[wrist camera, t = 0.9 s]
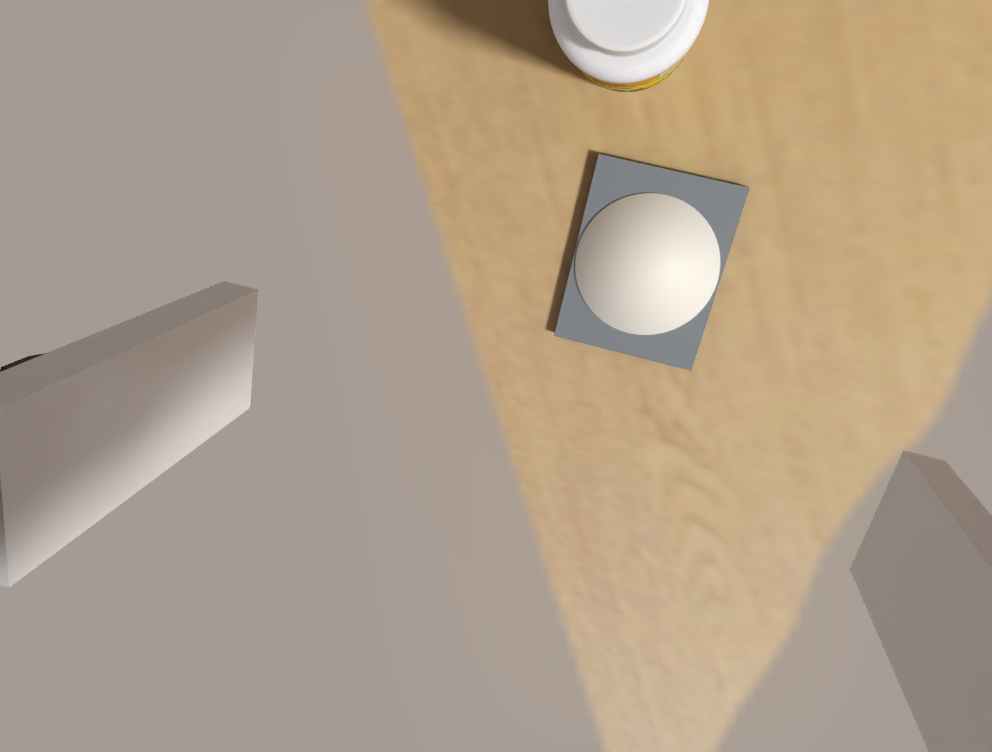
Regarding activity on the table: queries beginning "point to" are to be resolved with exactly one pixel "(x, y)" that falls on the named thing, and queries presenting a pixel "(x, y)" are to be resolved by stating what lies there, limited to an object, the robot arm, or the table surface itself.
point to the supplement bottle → (626, 38)
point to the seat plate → (649, 260)
